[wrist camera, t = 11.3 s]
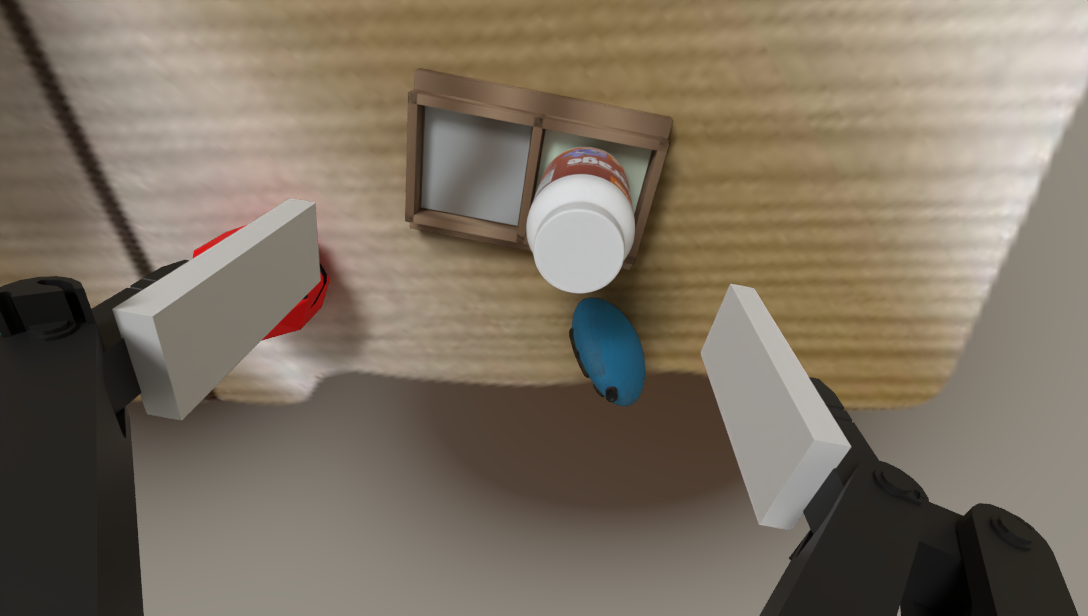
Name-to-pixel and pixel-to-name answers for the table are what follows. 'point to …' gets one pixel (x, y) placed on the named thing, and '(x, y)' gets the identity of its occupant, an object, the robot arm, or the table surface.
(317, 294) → the ball
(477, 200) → the divided sorting tray
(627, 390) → the ornament
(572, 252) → the pill bottle
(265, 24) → the table surface
